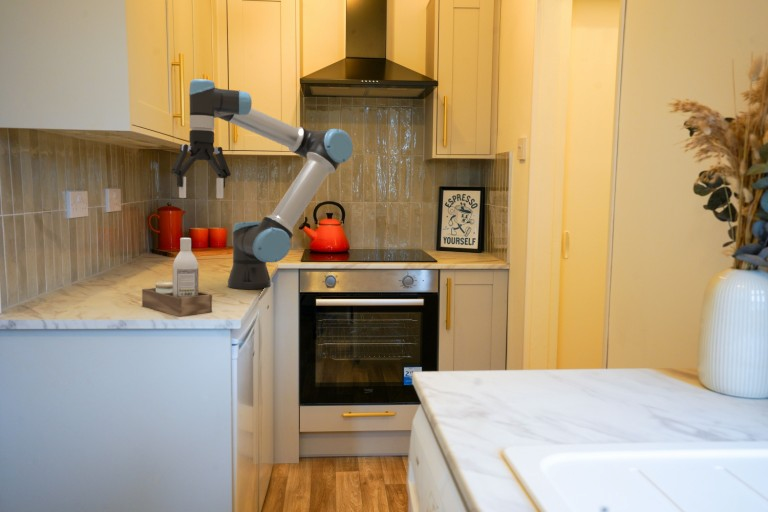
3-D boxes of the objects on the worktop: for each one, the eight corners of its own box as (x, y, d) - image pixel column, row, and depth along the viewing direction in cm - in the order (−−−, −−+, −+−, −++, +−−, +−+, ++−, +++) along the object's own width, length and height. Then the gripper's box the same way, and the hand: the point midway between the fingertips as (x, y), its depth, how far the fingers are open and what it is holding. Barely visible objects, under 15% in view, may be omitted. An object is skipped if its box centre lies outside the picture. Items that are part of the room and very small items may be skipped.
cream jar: (171, 300, 199) (171, 280, 199) (184, 303, 195) (184, 282, 194) (151, 302, 194) (150, 281, 194) (163, 306, 190) (163, 284, 189)
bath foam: (203, 308, 188) (203, 238, 186) (181, 311, 183) (181, 239, 181) (190, 304, 193) (190, 236, 191) (168, 307, 188) (168, 237, 186)
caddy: (174, 302, 202) (174, 285, 201) (211, 312, 189) (211, 294, 188) (142, 305, 194) (142, 289, 194) (179, 316, 181) (179, 298, 180)
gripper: (228, 133, 219) (227, 197, 221) (159, 127, 201) (159, 197, 203) (241, 133, 214) (241, 198, 216) (172, 126, 196) (172, 198, 198)
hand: (201, 198), depth 210 cm, fingers open, 13 cm apart
